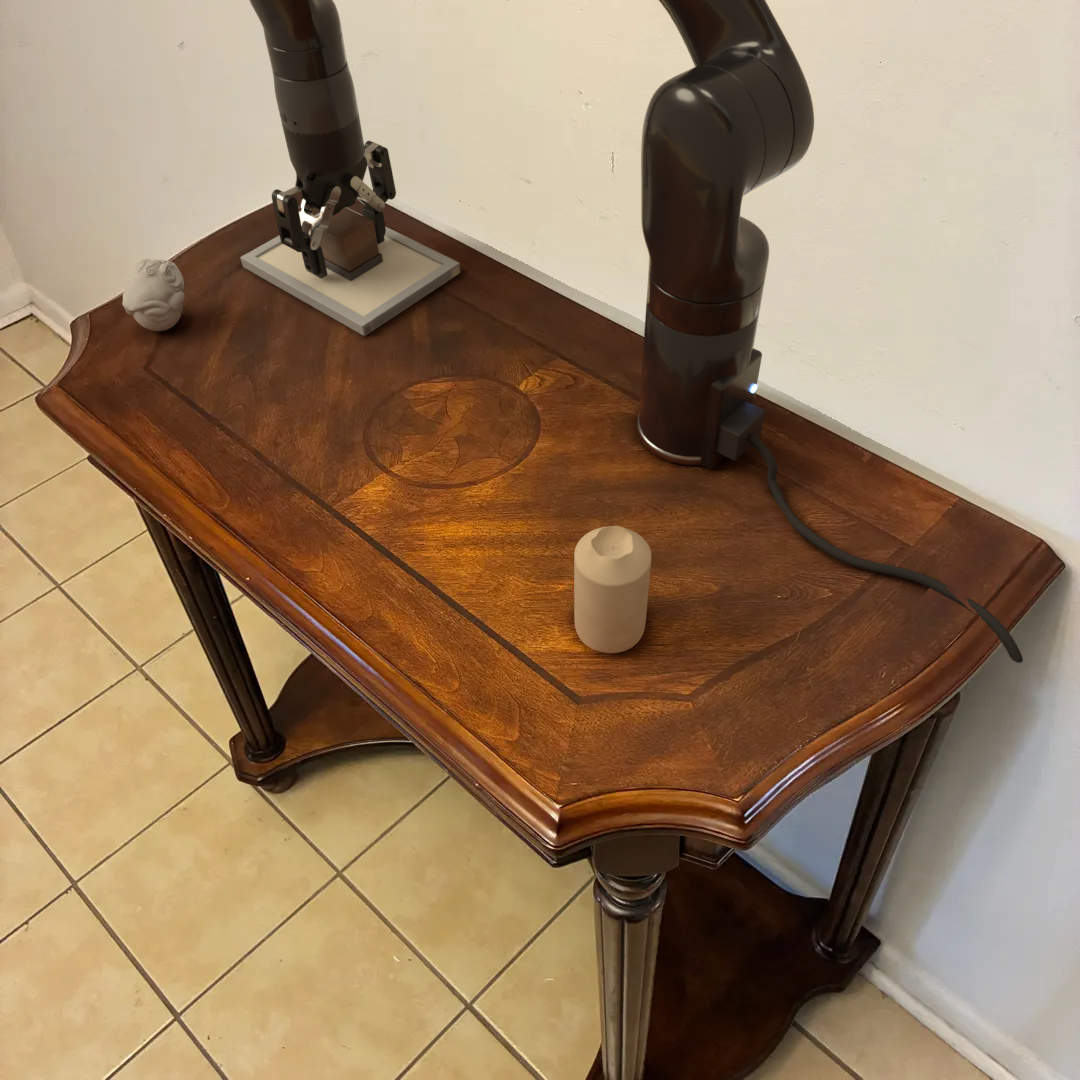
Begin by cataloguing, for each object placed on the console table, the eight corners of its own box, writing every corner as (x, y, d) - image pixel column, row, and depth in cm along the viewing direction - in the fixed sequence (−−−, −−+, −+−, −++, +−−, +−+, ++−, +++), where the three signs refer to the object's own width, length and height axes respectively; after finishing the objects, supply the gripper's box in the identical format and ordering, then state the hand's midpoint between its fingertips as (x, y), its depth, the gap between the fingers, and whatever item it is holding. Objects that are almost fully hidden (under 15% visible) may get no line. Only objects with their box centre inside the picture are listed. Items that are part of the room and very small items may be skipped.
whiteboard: (460, 272, 109) (459, 262, 108) (364, 336, 102) (362, 326, 101) (339, 212, 118) (337, 202, 117) (242, 267, 111) (239, 257, 110)
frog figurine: (209, 312, 105) (189, 255, 100) (168, 350, 101) (145, 293, 96) (163, 299, 107) (141, 243, 102) (120, 337, 103) (96, 280, 98)
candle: (646, 654, 75) (654, 571, 68) (574, 654, 75) (574, 572, 68) (643, 597, 79) (650, 512, 71) (574, 597, 79) (574, 512, 71)
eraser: (383, 261, 109) (376, 220, 105) (351, 281, 107) (342, 240, 103) (346, 242, 112) (338, 202, 108) (314, 261, 109) (305, 221, 105)
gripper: (287, 152, 91) (321, 300, 103) (398, 95, 98) (418, 240, 110) (236, 128, 95) (275, 274, 107) (347, 75, 101) (372, 218, 114)
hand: (348, 257), depth 109 cm, fingers open, 8 cm apart
